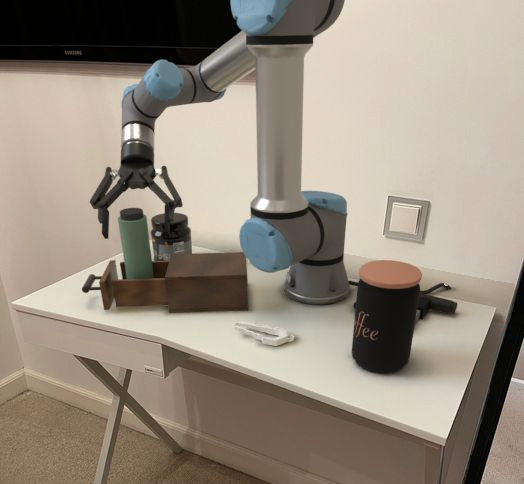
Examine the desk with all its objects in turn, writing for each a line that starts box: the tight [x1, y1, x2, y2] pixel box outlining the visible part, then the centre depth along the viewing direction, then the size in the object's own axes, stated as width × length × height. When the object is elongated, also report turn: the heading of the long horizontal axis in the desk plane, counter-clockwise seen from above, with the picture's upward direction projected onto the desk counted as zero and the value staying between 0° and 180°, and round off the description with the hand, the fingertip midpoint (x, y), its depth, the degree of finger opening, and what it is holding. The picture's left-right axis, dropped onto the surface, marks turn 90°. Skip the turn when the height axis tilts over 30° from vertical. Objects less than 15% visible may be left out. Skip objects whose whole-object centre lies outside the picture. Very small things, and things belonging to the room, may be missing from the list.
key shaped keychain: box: [233, 320, 295, 347], centre depth 109 cm, size 13×5×2 cm, turn 69°
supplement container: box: [149, 212, 193, 261], centre depth 142 cm, size 10×10×12 cm
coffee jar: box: [351, 259, 423, 375], centre depth 97 cm, size 11×11×18 cm
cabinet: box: [165, 251, 249, 314], centre depth 123 cm, size 18×14×9 cm
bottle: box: [117, 207, 154, 279], centre depth 119 cm, size 6×6×19 cm
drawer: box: [81, 259, 169, 311], centre depth 122 cm, size 21×12×7 cm, turn 93°
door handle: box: [353, 293, 458, 324], centre depth 117 cm, size 3×20×16 cm
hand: (136, 235), depth 119 cm, fingers open, 13 cm apart
